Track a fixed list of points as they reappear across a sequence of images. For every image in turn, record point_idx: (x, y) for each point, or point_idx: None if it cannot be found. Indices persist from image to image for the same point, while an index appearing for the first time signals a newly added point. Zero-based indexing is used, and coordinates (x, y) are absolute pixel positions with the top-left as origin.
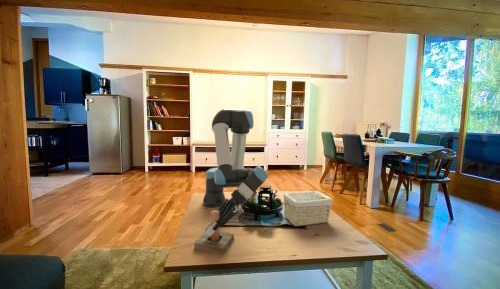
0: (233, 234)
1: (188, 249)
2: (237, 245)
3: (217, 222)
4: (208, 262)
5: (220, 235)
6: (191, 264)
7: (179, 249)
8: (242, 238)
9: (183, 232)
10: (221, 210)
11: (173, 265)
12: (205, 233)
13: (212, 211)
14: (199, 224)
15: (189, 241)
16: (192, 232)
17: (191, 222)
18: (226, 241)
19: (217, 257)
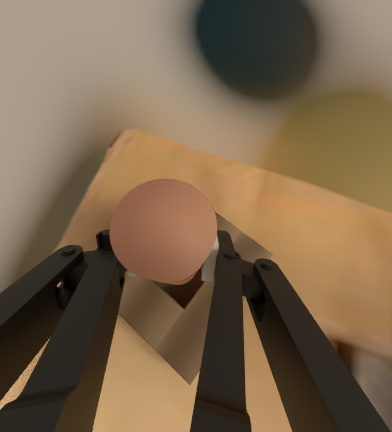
0: (184, 377)
1: (182, 178)
2: (128, 365)
3: (101, 241)
4: (81, 213)
5: (194, 297)
6: (100, 170)
7: (192, 158)
8: (180, 428)
9: (299, 186)
10: (208, 329)
11: (121, 134)
12: (235, 237)
13: (190, 200)
14: (362, 253)
15: (231, 191)
16: (294, 213)
17: (382, 228)
18: (126, 307)
19: (90, 248)
